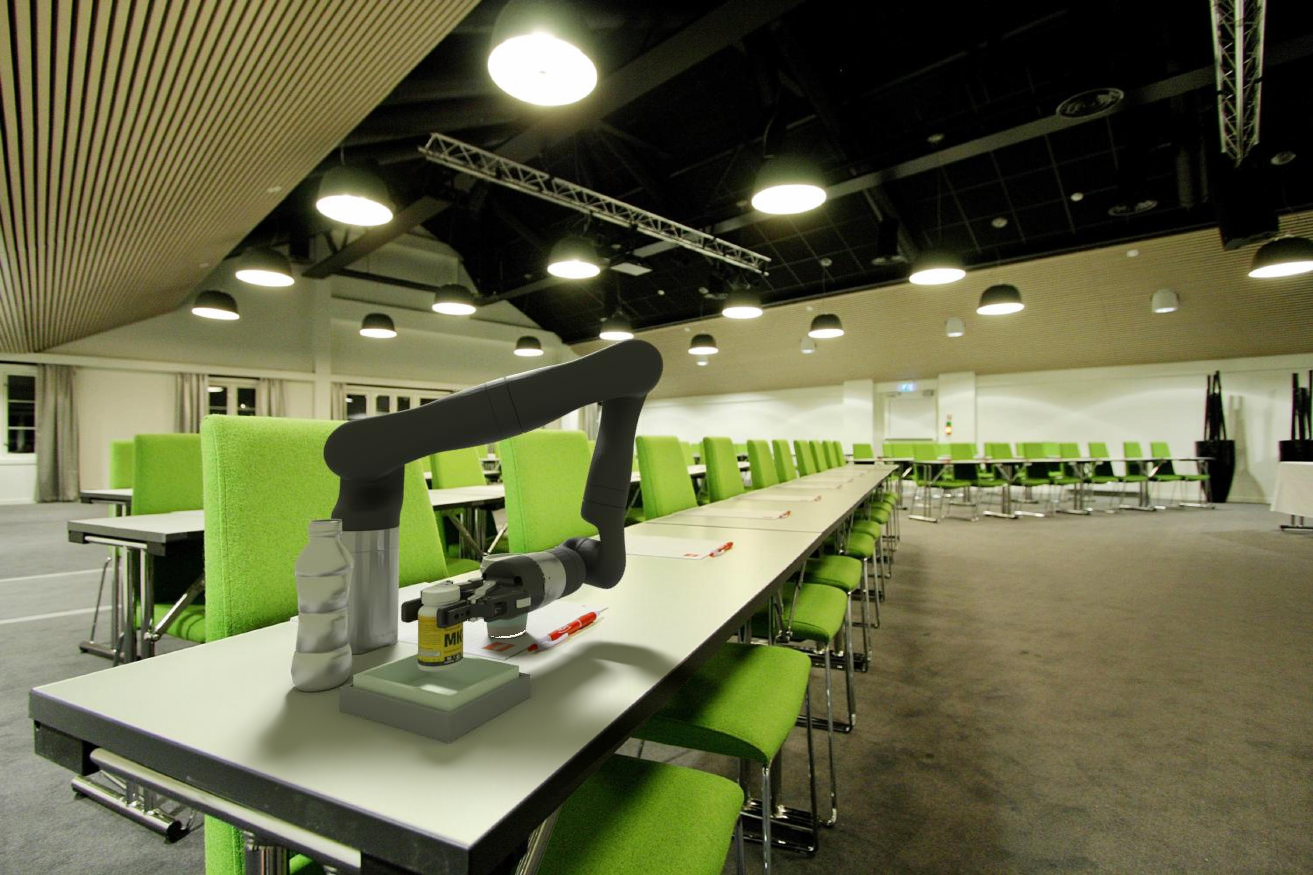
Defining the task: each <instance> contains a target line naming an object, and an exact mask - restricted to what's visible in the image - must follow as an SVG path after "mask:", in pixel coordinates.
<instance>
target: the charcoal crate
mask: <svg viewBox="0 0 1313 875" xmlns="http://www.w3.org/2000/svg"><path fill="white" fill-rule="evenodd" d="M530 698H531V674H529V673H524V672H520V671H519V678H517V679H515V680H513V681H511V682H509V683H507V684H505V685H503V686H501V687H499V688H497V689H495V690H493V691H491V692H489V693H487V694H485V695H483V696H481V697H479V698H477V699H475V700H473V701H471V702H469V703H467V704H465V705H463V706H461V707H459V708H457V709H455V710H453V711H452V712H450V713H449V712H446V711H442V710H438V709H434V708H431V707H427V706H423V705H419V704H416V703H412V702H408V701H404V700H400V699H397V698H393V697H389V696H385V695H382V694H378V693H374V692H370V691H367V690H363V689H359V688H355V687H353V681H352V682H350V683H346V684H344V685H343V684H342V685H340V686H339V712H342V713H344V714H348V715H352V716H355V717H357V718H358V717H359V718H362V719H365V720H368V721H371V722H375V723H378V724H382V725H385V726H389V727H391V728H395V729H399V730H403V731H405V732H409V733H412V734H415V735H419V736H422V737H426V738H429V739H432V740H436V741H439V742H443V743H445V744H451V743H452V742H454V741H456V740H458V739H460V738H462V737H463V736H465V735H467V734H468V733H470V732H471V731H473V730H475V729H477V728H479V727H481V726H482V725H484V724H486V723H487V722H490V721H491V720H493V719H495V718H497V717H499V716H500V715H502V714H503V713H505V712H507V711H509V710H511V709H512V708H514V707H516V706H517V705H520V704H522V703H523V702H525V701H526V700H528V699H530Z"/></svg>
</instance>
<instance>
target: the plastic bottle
mask: <svg viewBox="0 0 1313 875" xmlns="http://www.w3.org/2000/svg"><path fill="white" fill-rule="evenodd" d="M340 535H343V530H342V519H331V518H322V519H312V520H309V521H308V531H307V535H306V536H307V537H308V538H309V541H308V542H307V544H306V545H305V546H304V547H303V549H301V551H300V553H299V555H298V556H297V557H296V560H295V563H294V566H293V567H294V568H293V569H294V573H293V574H294V575H295V576H294V580H295V587H296V595H297V610H298V615H297V616H298V617H297V618H298V620H297V621H298V622H297V623H298V625H297V633H296V642H295V650H294V652H293V657H292V662H291V667H290V673H291V680H292V681H291V682H292V684H293V685H294V686H295V688H296V689H297V690H298V691H302V692H306V693H309V692H321V691H327V690H329V689H333V688H336V687H340V686H342V685H343V684H344V683H345V682H346V681H347V680H348V678H349V676H350V675H351V671H352V665H353V654H352V651H351V646H350V643H349V630H348V605H349V592H350V586H351V580H352V574H353V568H354V560H353V557H352V554H351V553H350V551H349V550H348V548H347V547H346V546H345V544H344V543H343V542H342V541H341V539H340Z"/></svg>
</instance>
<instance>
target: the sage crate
mask: <svg viewBox="0 0 1313 875" xmlns="http://www.w3.org/2000/svg"><path fill="white" fill-rule="evenodd" d="M519 672H520V665H516V664H512V663H508V662H507V663H506V662H500V661H496V660H492V659H488V658H487V659H486V658H481V657H477V656H471V655H467V654H463V661H462V663H461V664H460V665H459V666H457V667H455V668H452V669H449V670H445V671H423V670H421V669H420V668H419V667H418V651H416V652H413V653H411V654H408V655H404V656H401V657H400V658H396V659H393V660H391V661H388V662H386V663H383V664H380V665H378V666H373V667H371V668H370V669H366V670H363V671H361V672H358V673H355V674H353V676H352V678H353V679H352V682H353V687H355V688H359V689H363V690H367V691H370V692H374V693H378V694H382V695H385V696H389V697H393V698H397V699H400V700H404V701H408V702H412V703H416V704H419V705H423V706H427V707H431V708H434V709H438V710H442V711H446V712H449V713H450V712H452V711H453V710H455V709H457V708H459V707H461V706H463V705H465V704H467V703H469V702H471V701H473V700H475V699H477V698H479V697H481V696H483V695H485V694H487V693H489V692H491V691H493V690H495V689H497V688H499V687H501V686H503V685H505V684H507V683H509V682H511V681H513V680H515V679H517V678H519Z"/></svg>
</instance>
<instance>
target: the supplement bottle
mask: <svg viewBox="0 0 1313 875" xmlns="http://www.w3.org/2000/svg"><path fill="white" fill-rule="evenodd" d="M421 590H422V604H424V606H422V607H421V608H420V609H419V611H418V620H417V652H418V667H419V668H420V669H421V670H423V671H445V670H449V669H452V668H455V667H457V666H459V665H460V664H461V663H462V661H463V655H464V622H463V623H460V624H457V625H454V626H451V627H448V628H446V629H441V628H438V627H437V620H436V613H437V609H438V608H439V607H442V606H445V605H448V604H452V603H455V602H458V601H459V600H460V587H459V586H457V585H438V586H434V585H432V587H431V586H428V587H425V588H423V589H421Z"/></svg>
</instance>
